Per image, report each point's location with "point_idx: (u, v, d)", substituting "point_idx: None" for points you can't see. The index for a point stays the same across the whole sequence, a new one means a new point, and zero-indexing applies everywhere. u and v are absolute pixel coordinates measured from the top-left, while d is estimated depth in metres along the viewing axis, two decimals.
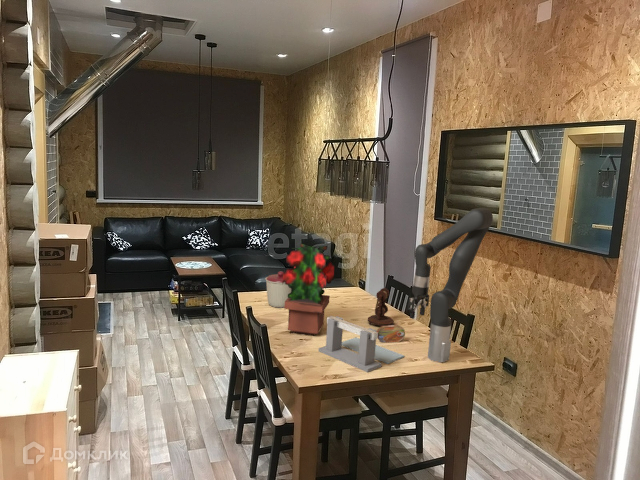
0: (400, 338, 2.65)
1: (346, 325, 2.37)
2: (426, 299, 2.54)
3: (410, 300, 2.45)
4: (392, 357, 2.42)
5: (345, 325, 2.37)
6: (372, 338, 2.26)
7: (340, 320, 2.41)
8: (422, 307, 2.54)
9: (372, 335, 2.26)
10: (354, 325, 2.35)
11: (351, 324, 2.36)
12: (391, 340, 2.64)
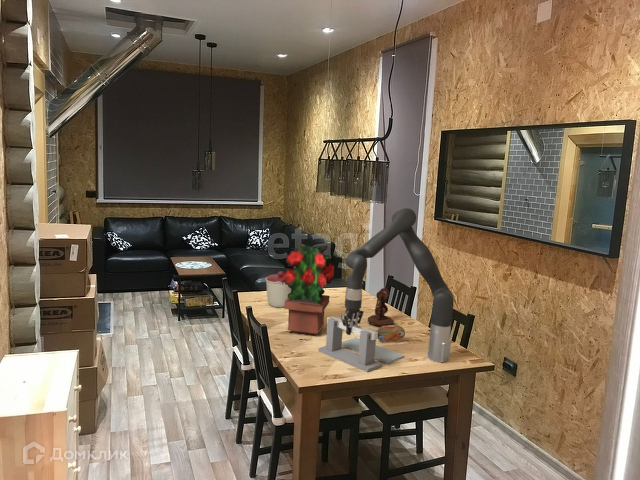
0: (400, 338, 2.65)
1: None
2: (359, 315, 2.39)
3: (342, 318, 2.31)
4: (392, 357, 2.42)
5: None
6: (372, 338, 2.26)
7: (340, 320, 2.41)
8: None
9: (372, 335, 2.26)
10: (354, 325, 2.35)
11: None
12: (391, 340, 2.64)
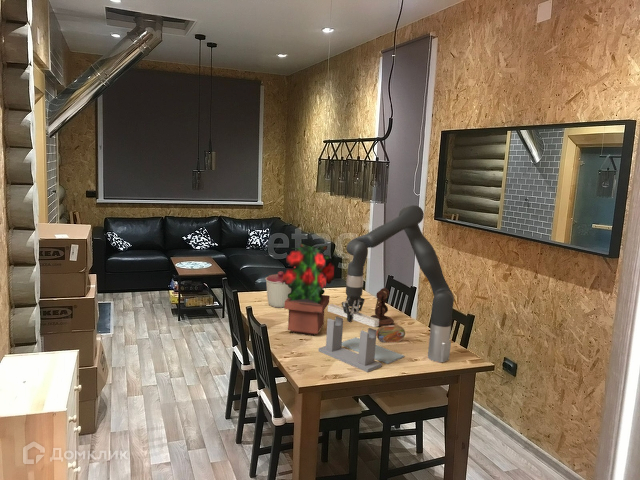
0: (400, 338, 2.65)
1: None
2: (360, 303, 2.38)
3: (343, 305, 2.30)
4: (392, 357, 2.42)
5: None
6: (373, 325, 2.25)
7: (341, 308, 2.40)
8: None
9: (373, 322, 2.25)
10: (355, 312, 2.34)
11: None
12: (391, 340, 2.64)
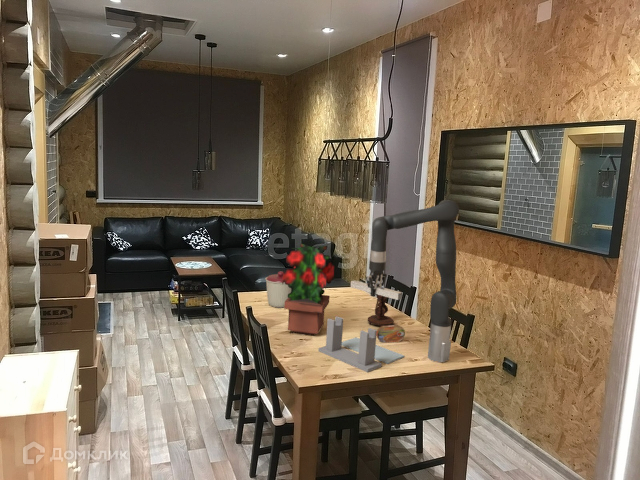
0: (400, 338, 2.65)
1: None
2: (383, 278, 2.47)
3: (367, 279, 2.40)
4: (392, 357, 2.42)
5: None
6: (397, 298, 2.35)
7: (364, 283, 2.49)
8: None
9: (397, 295, 2.35)
10: (378, 287, 2.43)
11: None
12: (391, 340, 2.64)
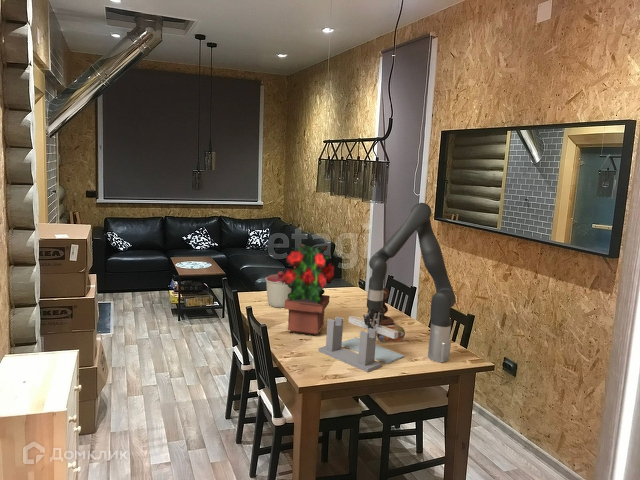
0: (400, 338, 2.65)
1: None
2: (380, 315, 2.51)
3: (364, 317, 2.43)
4: (392, 357, 2.42)
5: None
6: (393, 337, 2.38)
7: (361, 320, 2.53)
8: None
9: (393, 334, 2.38)
10: (375, 324, 2.47)
11: None
12: (391, 340, 2.64)
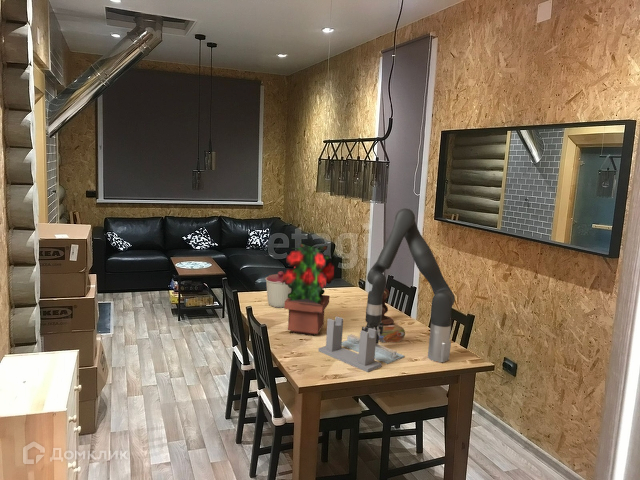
0: (400, 338, 2.65)
1: None
2: (380, 327, 2.52)
3: (363, 329, 2.44)
4: None
5: None
6: (391, 357, 2.40)
7: None
8: (376, 335, 2.52)
9: (391, 354, 2.40)
10: None
11: None
12: (391, 340, 2.64)
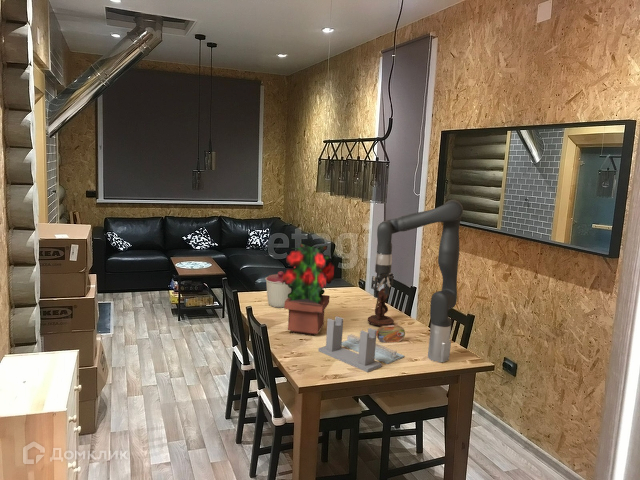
0: (400, 338, 2.65)
1: None
2: (390, 278, 2.51)
3: (373, 278, 2.42)
4: None
5: None
6: (391, 357, 2.40)
7: None
8: (386, 286, 2.50)
9: (391, 354, 2.40)
10: None
11: None
12: (391, 340, 2.64)
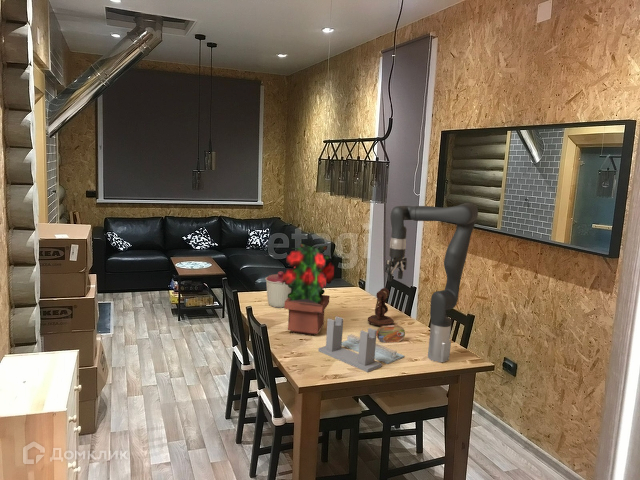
0: (400, 338, 2.65)
1: None
2: (404, 262, 2.54)
3: (387, 262, 2.46)
4: None
5: None
6: (391, 357, 2.40)
7: None
8: (400, 270, 2.54)
9: (391, 354, 2.40)
10: None
11: None
12: (391, 340, 2.64)
